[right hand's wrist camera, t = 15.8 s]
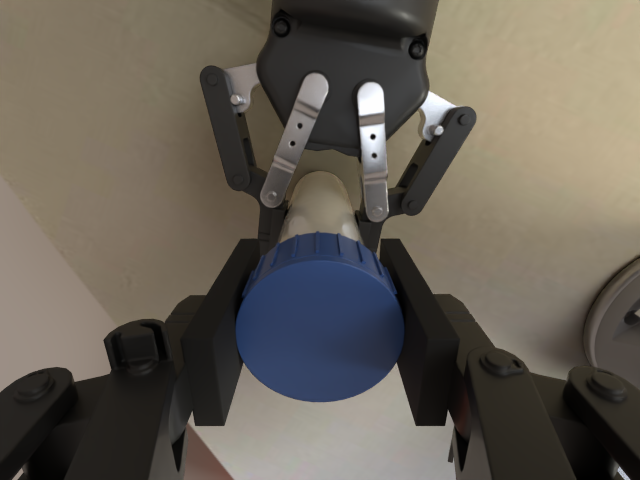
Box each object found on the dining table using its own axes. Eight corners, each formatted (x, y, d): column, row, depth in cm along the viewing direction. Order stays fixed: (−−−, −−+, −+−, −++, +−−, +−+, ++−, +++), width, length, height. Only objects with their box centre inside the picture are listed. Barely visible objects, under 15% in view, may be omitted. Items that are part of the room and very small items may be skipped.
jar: (332, 161, 25) (352, 242, 10) (356, 210, 26) (405, 348, 11) (283, 186, 25) (229, 298, 10) (308, 232, 27) (292, 392, 12)
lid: (217, 278, 12) (195, 315, 10) (343, 200, 11) (349, 222, 9) (300, 376, 13) (296, 426, 11) (417, 315, 12) (438, 358, 10)
